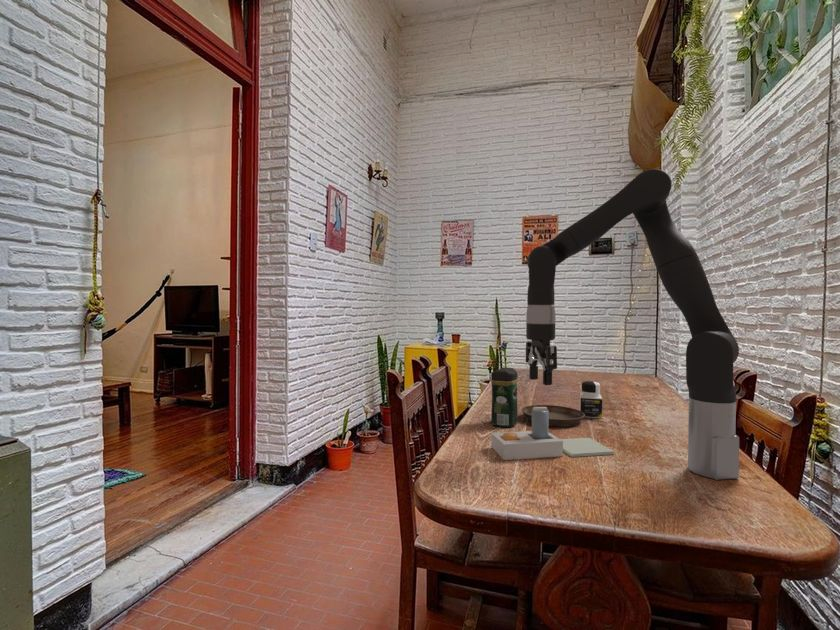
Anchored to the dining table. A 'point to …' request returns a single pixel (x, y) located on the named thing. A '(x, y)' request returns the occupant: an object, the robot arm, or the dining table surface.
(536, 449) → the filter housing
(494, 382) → the coffee jar
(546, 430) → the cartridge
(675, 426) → the dining table surface
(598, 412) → the medicine bottle
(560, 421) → the plant saucer
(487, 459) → the dining table surface
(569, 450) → the pad
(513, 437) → the orange rounded piece
